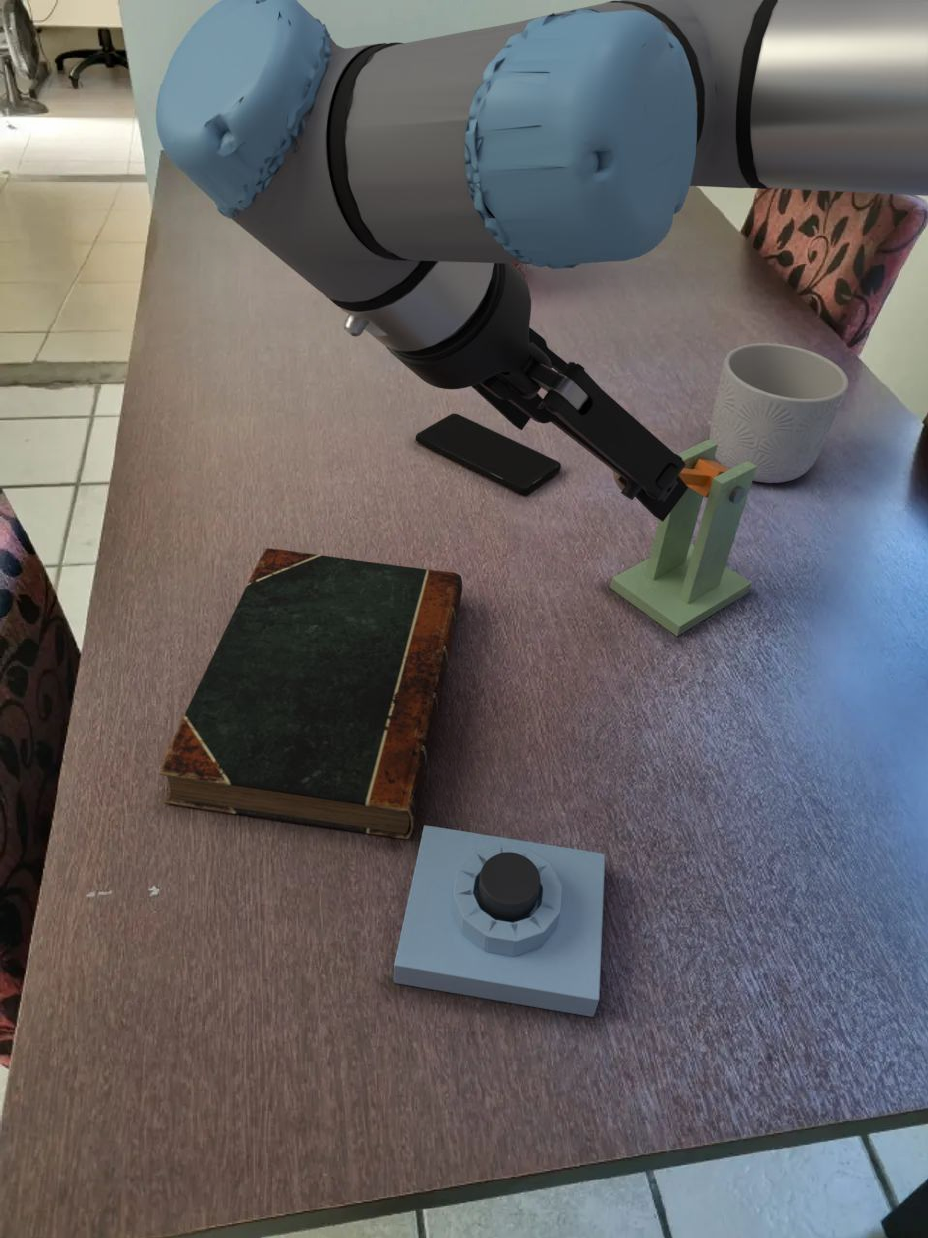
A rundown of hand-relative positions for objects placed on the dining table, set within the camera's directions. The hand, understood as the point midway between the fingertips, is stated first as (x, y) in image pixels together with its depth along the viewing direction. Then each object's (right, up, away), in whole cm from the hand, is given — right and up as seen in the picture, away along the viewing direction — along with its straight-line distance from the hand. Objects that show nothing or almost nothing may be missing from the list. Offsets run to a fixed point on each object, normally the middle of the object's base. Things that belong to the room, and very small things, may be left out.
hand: (596, 455), depth 64 cm
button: (-6, -28, -8) cm, 30 cm away
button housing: (-7, -31, -5) cm, 32 cm away
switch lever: (+7, -2, +9) cm, 11 cm away
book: (-20, -17, +9) cm, 27 cm away
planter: (+23, +6, +38) cm, 45 cm away
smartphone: (-7, +6, +35) cm, 36 cm away
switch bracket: (+10, -9, +21) cm, 25 cm away
